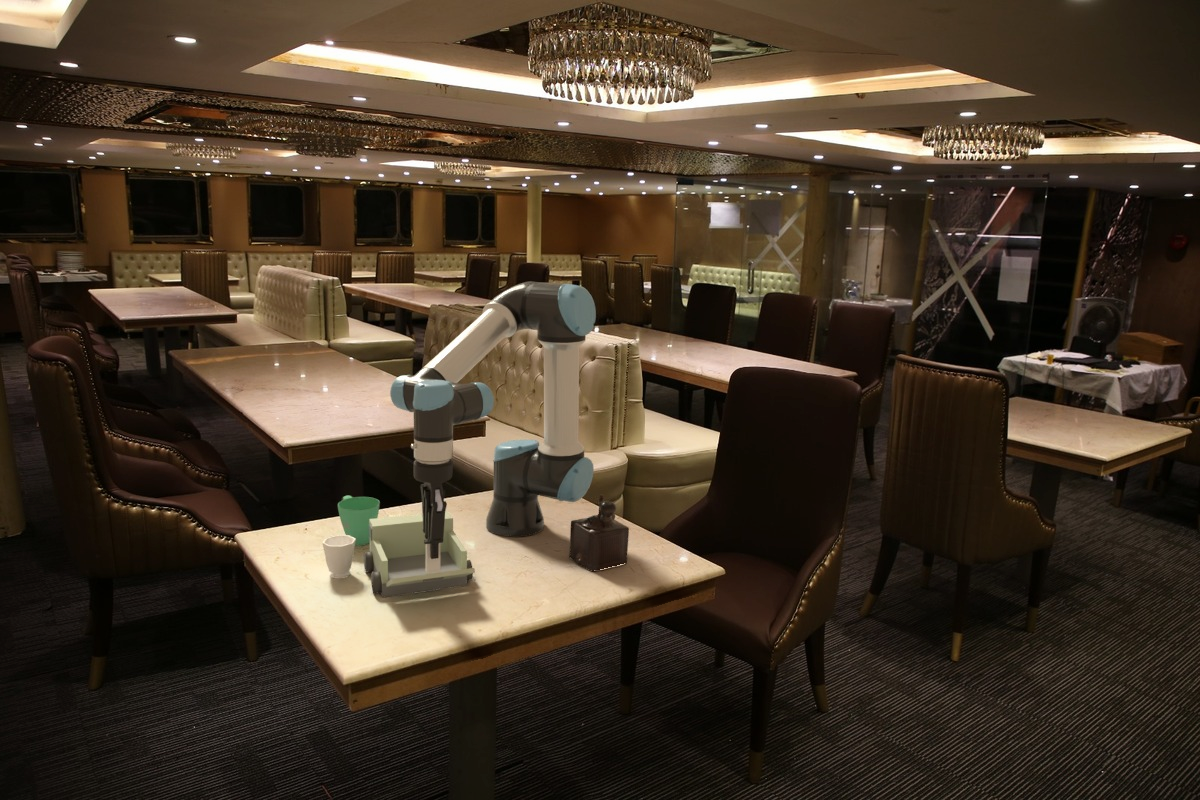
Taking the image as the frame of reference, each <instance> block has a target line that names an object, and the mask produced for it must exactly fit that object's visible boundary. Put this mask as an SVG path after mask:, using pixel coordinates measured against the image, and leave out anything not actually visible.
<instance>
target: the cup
mask: <svg viewBox="0 0 1200 800" xmlns="http://www.w3.org/2000/svg"><path fill="white" fill-rule="evenodd" d="M355 541H356V538H354V537H351V536H349V535H346V534H337V535H333V536H329V537H326V538H325V539H324V540H323V541H322V547H323V552H324V556H325V563H326V566H327V569H328V572H330V573H329V577H331V578H333V579H339V580H341V579H344V578H348V577H349V576H350V575H351V571H350V570H351V568H352V564H353V562H354V561H353V560H354V554H355V548H356V547H355V546H356V545H355Z"/></svg>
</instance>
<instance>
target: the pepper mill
mask: <svg viewBox="0 0 1200 800" xmlns="http://www.w3.org/2000/svg"><path fill="white" fill-rule="evenodd" d="M604 499H605V496H604V494H600V495H599V496H598V501H597V503H598V513H597V514H594V515H591V516H588V517H585V518H580V519H573V520H571V521H570V530H569V531H570V534H569V535H570V536H569V537H570V538H569V555H568V558H569V559H571V560H572V561H573V560H574V562H575V563H576V564H577V565H579V566H580V565H581V566H580V567H583V568H584V567H585V568H584V569H586V568H587V569H586V570H588V569H589V570H588V571H590V570H592V571H591V572H595V571H594V570H600V569H604V568H608V567H612V566H617V565H620V564H624V563H626V564H627V562H628V547H629V534H630V532H629V531H630V527H629V526H627V525H625V524H623V523H622V522H619V521H618V520H616V512H617V506H616V504H615V502H613V501H611V500H604Z"/></svg>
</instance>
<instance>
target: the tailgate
mask: <svg viewBox="0 0 1200 800" xmlns="http://www.w3.org/2000/svg"><path fill="white" fill-rule="evenodd" d="M475 571H476V569H475V567H472V568H469V569H462V570H454V571H447V572H439V573H432V574H424V575H417V576H409V577H401V578H394V579H391V580H390V581H388V582H386V587H391V586H398V585H405V584H413V583H420V582H427V581H435V580H442V579H449V578H457V577H464V576H467V575H469V574H472V573H473V574H474V573H475Z"/></svg>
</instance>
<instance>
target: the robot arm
mask: <svg viewBox="0 0 1200 800" xmlns="http://www.w3.org/2000/svg"><path fill="white" fill-rule="evenodd" d="M596 310H597V309H596V305H595V301H594V299H593V297H592V294H590V292H589V291H588V289H586V288H585V287H583V286H581V285H577V284H571V283H560V282H559V283H558V282H538V281H525V282H522V283H521V282H520V283H518V284H516V285H514V286H511V287H510V288H508V289H505V290H504V291H503V292H500V293H499V294H498V295H496V296H495V297H493V299H491V300H490V301H489V302H488V303H487V304H485V306H484V307H483V309H482V314H480V315H479V316H478V317H477V318H476V319H475V320H474V321H473V322H472V323H471V324H470V325H469V326H467V327H466V328H465V329H464V330H463V331H462V332H460V334H458V336H456V337H455V338H454V339H453V340H452V341H451V342H450V343H448V345H446V346H445V347H444V348H443V349H442V350H441V351H440V352H439V353H438V354H436V355H435V356H434V357H433V358H432V359H431V360H430V361H429V362H427V364H426V365H424V366H423V367H422V368H421V369H420V370H419V371H417V372H416V373H415V374H414V375H412V374H407V375H405V374H403V375H400V376H398V377H397V378H395V379H394V381H393V382H392V384H391V386H390V392H389V396H390V399H391V402H392V404H393V405H394V406H395V407H396V408H398V409H399V410H403V411H407V412H409V413H413V442H414V443H411V445H410V448H411V449H412V450H413V458H414V461H413V477H414V479H415V481H418V482H420V483H422V484H420V486H419V487H420V494H421V506H422V507H421V510H422V513H421V514H423V532H424V533H425V539H427V540H424V544H426V558H425V571H426V573H434V572H440V543H443V536H444V522H445V511H447V505H448V504H447V501H446V500H445V497H446V489H445V488H443V484H444V483H445V482H447V481H449V480H451V479H452V478H453V460H452V458H453V457H454V426H457V425H459V424H463V423H466V422H467V423H468V422H471V421H477V420H479V419H481V418H484V417H486V416H488V415H489V414H490V413H491V412H492V410H493V408H494V402H495V401H494V400H495V398H494V394H493V391H492V390H491V388H490V387H489V386H488V385H487V384H485V383H483V382H479V381H478V382H473V381H472V382H468V383H459V382H460V381H461V380H462V379H463V378H464V377H466V376H467V374H468V373H469V372H470V371H472V369H473V368H474V367H475V366H476V365H477V364H479V363H480V362H481V361H482V360H483V359H484V358H485V357H486V356H487V355H488V354H489V353H490V352H491V351H492V350H494V348H495V347H496V346H497V345H498V344H499V343H500V342H502V340H503V339H505V338H510V337H512V336H514V335H515V334H516V333H517V332H519V331H523V330H531V331H536V332H537V342H539V343H540V345H542V347H543V441H542V442H541V443H540V441H537V440H536V439H535V440H534V439H516V440H507V441H505V442H504V441H503V442H500V443H499V444H497V445H496V447H495V448H494V454H493V460H492V461H493V499H492V501H491V504H490V508H489V510H488V514H487V516H486V522H485V524H486V525H485V526H486V530H487V531H488V532H490V533H492V534H494V535H498V536H503V537H512V538H513V537H517V538H518V537H520V538H521V537H527V536H528V537H529V536H531V535H535V534H538V533H541V531H543V529H544V527H545V526H544V525H545V524H544V523H545V522H544V521H545V518H544V515H543V511H542V509H541V504H540V502H539V496H540V497H545V498H548V499H552V500H556V501H558V502H568V503H576V502H578V501H580V500H581V499H583V497H584V496H585V495H586V494H587V492H588V490H589V489H590V486H591V484H592V482H593V481H592V480H593V476H594V470H595V469H594V463H593V461H592V459H590V458H589V457H586V456H585V446H584V445H583V444H582V443H581V442H580V441H579V432H580V431H579V427H580V426H579V421H580V420H579V413H580V412H579V411H580V409H579V408H580V407H579V405H580V403H579V402H580V401H579V400H580V395H579V394H580V347H581V346H582V345H583V344H584V343H585V342H586V339H587V338H586V337H587V335H589V334H591V333H592V331H593V329H594V325H595V323H596V318H597V315H596V314H597V313H596Z"/></svg>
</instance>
